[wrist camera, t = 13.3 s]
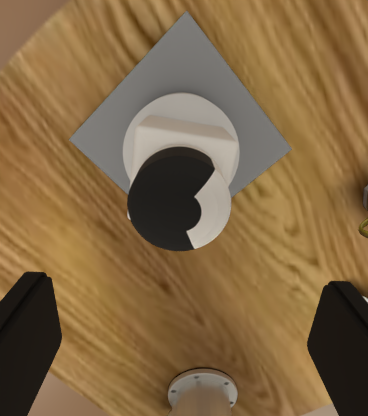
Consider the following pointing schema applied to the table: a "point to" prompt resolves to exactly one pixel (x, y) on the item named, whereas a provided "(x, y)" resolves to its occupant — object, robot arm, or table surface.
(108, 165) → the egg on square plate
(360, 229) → the ceramic cup
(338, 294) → the robot arm
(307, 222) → the table surface
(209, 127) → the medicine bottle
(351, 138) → the table surface
